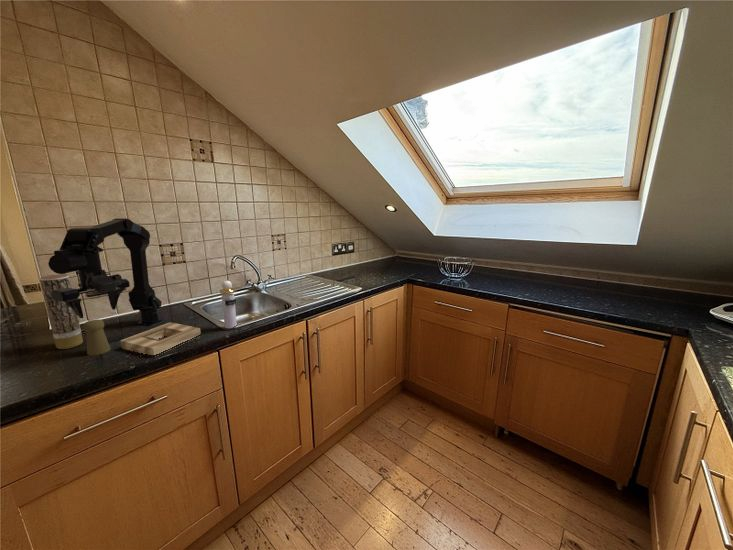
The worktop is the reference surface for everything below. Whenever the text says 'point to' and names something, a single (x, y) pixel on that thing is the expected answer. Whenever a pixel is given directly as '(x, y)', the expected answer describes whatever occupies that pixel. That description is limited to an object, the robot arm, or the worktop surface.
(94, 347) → the cork
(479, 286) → the worktop surface
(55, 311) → the grey bark cylinder
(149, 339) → the socket board
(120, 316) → the worktop surface
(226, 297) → the perfume bottle
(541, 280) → the worktop surface
